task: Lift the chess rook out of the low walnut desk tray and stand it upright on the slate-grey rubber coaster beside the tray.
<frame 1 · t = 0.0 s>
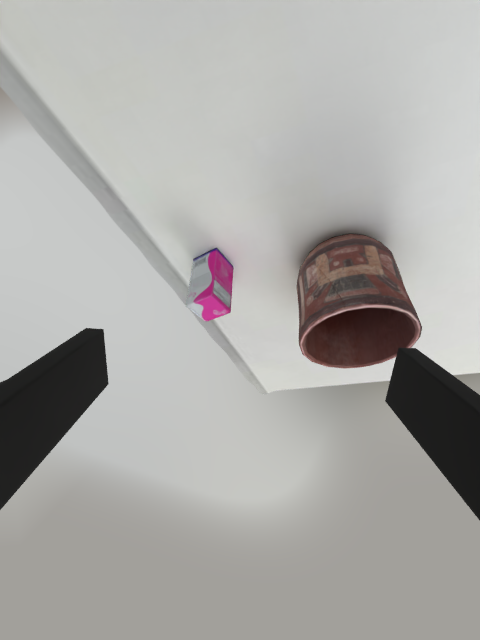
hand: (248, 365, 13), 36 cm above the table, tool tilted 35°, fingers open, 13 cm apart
pottery: (339, 259, 55), on the table
supplement box: (214, 262, 57), on the table
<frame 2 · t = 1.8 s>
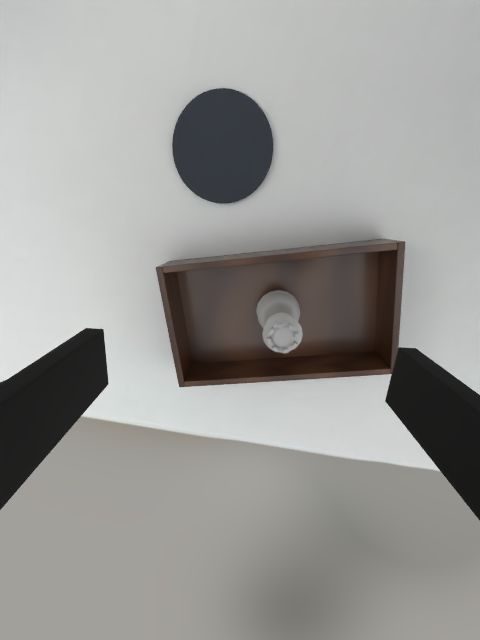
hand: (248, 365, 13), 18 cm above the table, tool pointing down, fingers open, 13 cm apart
rook chess piece: (277, 309, 31), resting on tray
tray: (277, 309, 31), on the table
coaster: (222, 149, 26), on the table
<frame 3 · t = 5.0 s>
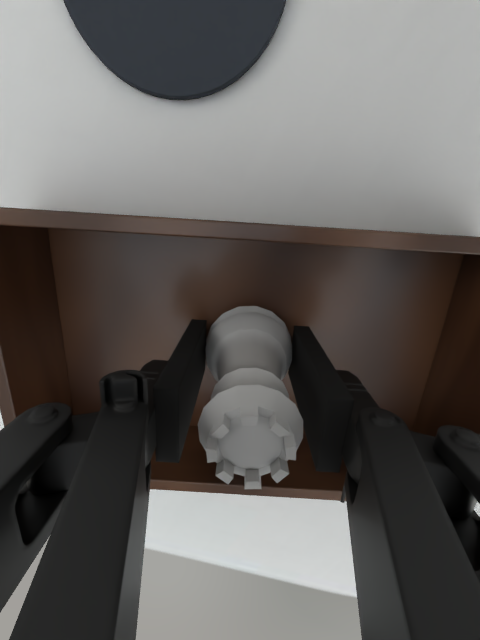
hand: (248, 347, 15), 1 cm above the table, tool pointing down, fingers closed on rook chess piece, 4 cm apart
rook chess piece: (248, 341, 16), resting on tray, touching gripper
tray: (248, 341, 16), on the table
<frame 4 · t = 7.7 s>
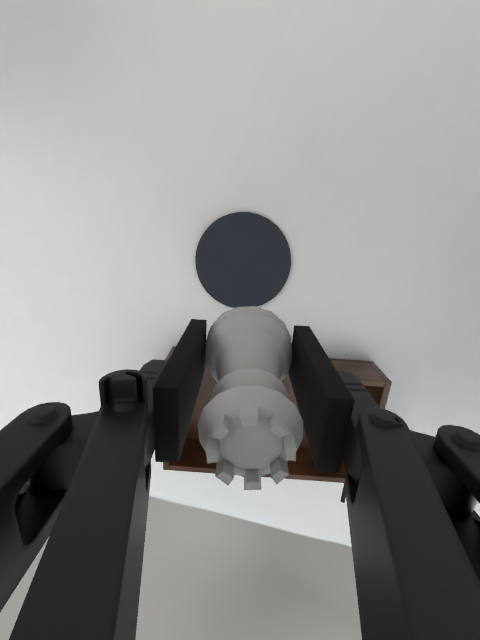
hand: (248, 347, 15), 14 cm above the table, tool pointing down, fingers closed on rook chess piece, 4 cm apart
rook chess piece: (248, 342, 16), point 14 cm above the table, touching gripper
tray: (267, 403, 33), on the table
coaster: (243, 262, 28), on the table
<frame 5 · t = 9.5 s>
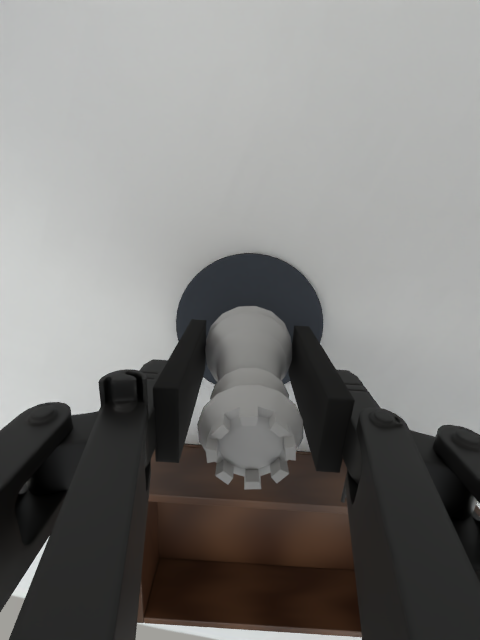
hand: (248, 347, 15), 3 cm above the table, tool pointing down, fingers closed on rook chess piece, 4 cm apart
rook chess piece: (248, 341, 16), point 3 cm above the table, touching gripper
tray: (284, 513, 23), on the table
coaster: (249, 326, 18), on the table
when the fingers open (1 cm above the table, at t = 10.5 s): rook chess piece stays where it is, resting on coaster.
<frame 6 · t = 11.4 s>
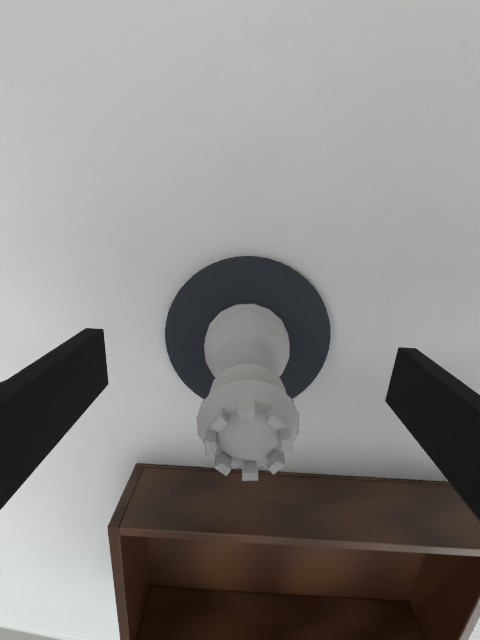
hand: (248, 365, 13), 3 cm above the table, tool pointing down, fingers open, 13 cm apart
rook chess piece: (246, 339, 16), resting on coaster
tray: (286, 539, 21), on the table
coaster: (247, 338, 16), on the table
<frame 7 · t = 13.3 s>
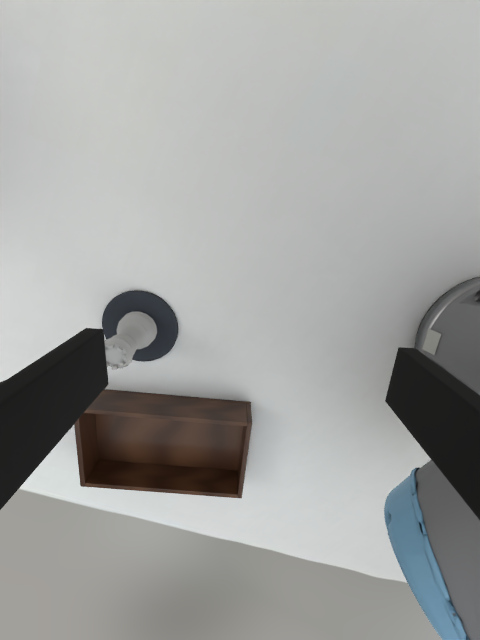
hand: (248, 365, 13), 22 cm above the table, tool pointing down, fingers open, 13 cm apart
rook chess piece: (140, 327, 35), resting on coaster
tray: (170, 432, 41), on the table
coaster: (140, 326, 36), on the table
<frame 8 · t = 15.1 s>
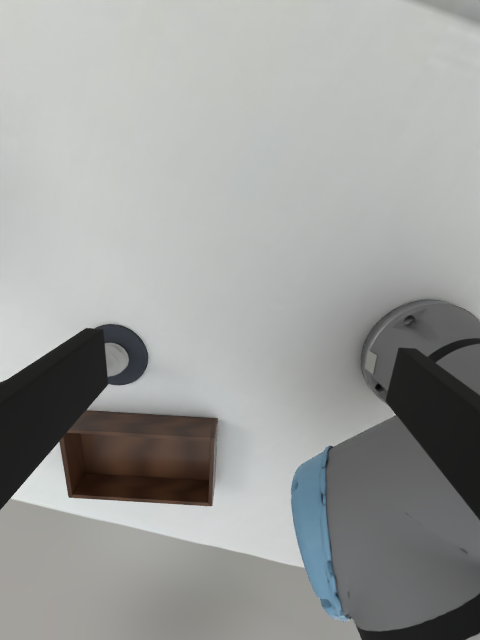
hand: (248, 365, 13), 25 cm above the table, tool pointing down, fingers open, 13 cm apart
rook chess piece: (114, 355, 40), resting on coaster
tray: (147, 447, 45), on the table
coaster: (115, 355, 40), on the table
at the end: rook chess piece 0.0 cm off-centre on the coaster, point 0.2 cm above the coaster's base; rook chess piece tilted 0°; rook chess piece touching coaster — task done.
